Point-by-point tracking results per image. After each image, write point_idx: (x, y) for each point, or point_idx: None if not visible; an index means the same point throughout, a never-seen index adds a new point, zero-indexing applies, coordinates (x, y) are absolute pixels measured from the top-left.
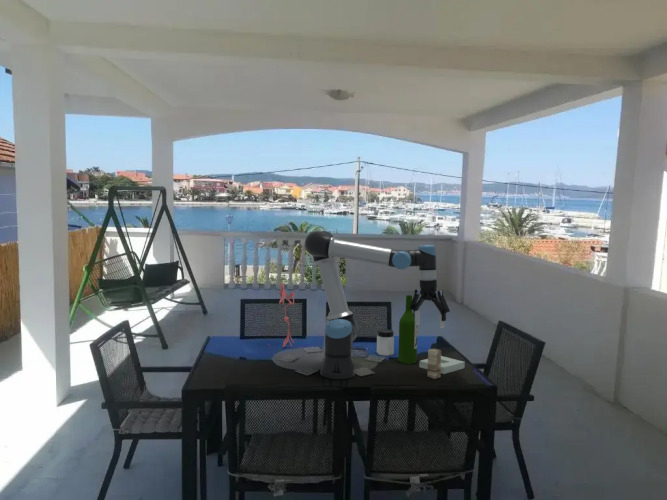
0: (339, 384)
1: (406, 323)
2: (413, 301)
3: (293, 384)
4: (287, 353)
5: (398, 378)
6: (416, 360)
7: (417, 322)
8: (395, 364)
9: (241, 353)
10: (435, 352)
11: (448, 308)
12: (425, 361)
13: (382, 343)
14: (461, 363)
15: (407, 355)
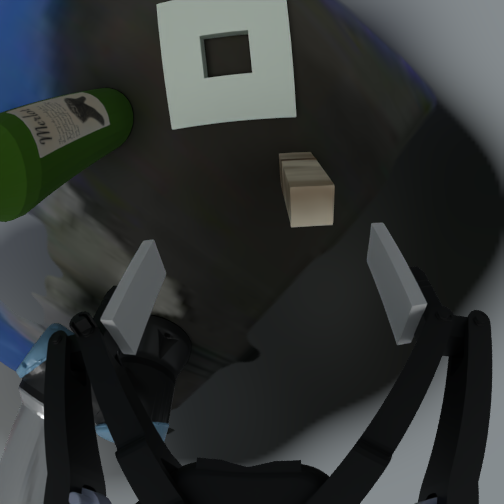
0: (215, 363)
1: (31, 207)
2: (89, 423)
3: (184, 395)
4: (16, 320)
5: (244, 263)
6: (123, 96)
7: (156, 274)
8: (119, 179)
9: (23, 359)
10: (331, 223)
11: (488, 342)
12: (191, 115)
13: None
14: (286, 7)
15: (114, 146)
